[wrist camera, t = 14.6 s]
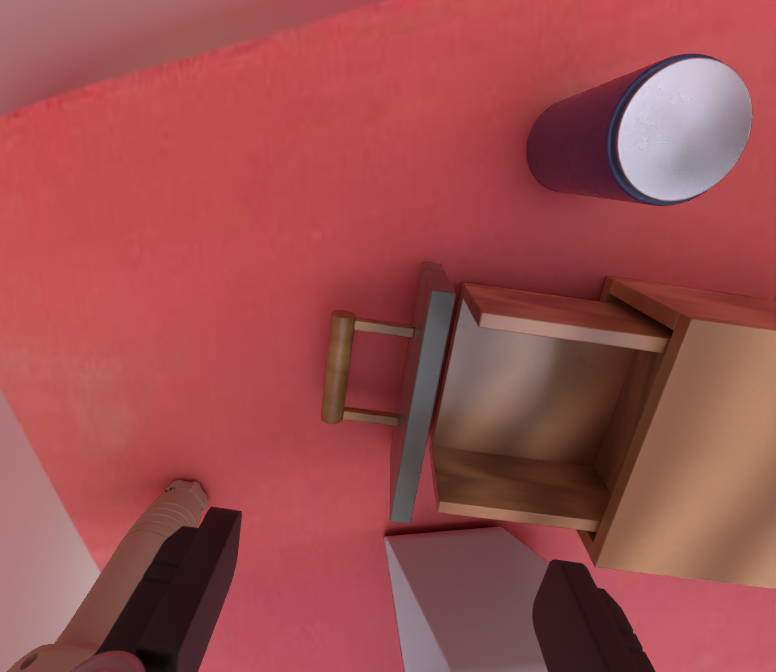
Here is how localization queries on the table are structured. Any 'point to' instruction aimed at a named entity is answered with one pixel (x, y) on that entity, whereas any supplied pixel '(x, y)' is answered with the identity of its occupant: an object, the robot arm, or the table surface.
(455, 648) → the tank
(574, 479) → the drawer
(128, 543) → the handle
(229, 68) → the table surface
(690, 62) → the can
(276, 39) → the table surface
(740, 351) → the cabinet
